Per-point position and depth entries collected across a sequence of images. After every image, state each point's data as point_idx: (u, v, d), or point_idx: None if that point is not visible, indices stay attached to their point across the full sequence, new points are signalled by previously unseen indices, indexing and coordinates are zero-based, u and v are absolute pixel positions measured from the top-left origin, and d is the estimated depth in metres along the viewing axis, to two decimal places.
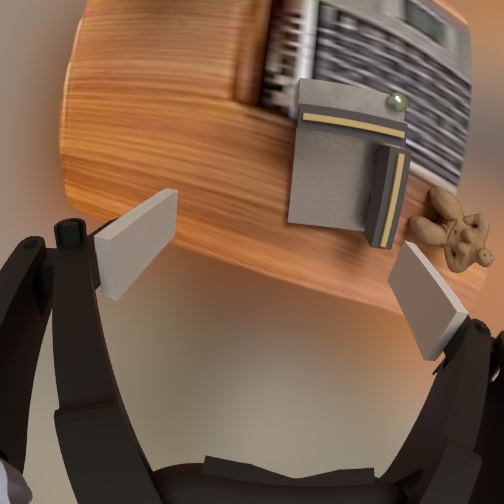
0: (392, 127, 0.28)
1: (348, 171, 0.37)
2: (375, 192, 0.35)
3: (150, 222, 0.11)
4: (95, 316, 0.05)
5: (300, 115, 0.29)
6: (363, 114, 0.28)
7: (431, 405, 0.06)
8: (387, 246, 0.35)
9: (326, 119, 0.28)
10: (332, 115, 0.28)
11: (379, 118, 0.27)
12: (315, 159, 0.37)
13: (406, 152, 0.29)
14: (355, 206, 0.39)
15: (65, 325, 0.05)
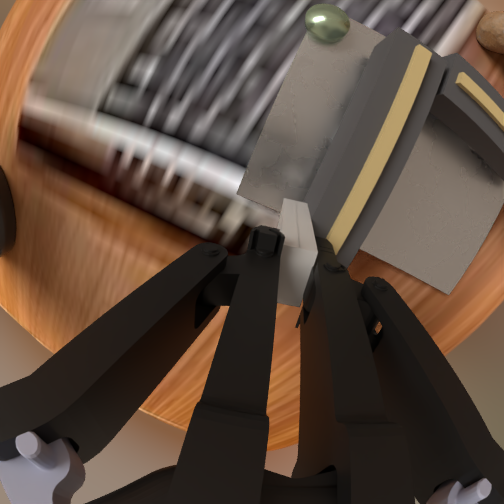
0: (403, 65, 0.09)
1: (433, 175, 0.17)
2: (486, 154, 0.12)
3: None
4: (272, 330, 0.06)
5: None
6: (361, 121, 0.11)
7: (309, 372, 0.07)
8: None
9: (348, 218, 0.13)
10: (343, 196, 0.13)
11: (378, 86, 0.10)
12: (394, 223, 0.19)
13: (456, 63, 0.08)
14: (480, 187, 0.16)
15: (238, 327, 0.06)
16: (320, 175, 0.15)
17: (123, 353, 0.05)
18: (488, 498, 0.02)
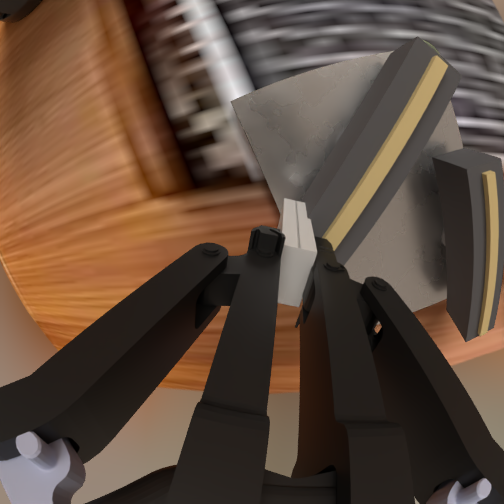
0: (418, 74, 0.09)
1: (396, 228, 0.19)
2: (454, 251, 0.16)
3: None
4: (273, 331, 0.06)
5: None
6: (371, 123, 0.11)
7: (308, 372, 0.07)
8: (488, 327, 0.15)
9: (348, 218, 0.13)
10: (345, 196, 0.13)
11: (391, 90, 0.10)
12: None
13: (494, 163, 0.10)
14: (423, 274, 0.20)
15: (239, 327, 0.06)
16: (322, 174, 0.15)
17: (124, 353, 0.05)
18: (488, 498, 0.02)
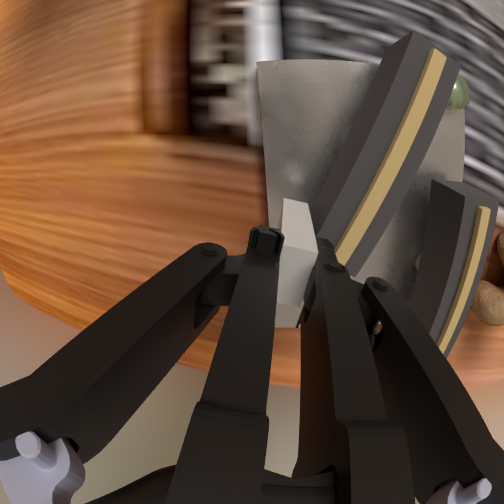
0: (418, 68, 0.09)
1: None
2: (426, 274, 0.17)
3: None
4: (272, 330, 0.06)
5: None
6: (378, 123, 0.11)
7: (309, 372, 0.07)
8: None
9: (363, 220, 0.12)
10: (358, 198, 0.13)
11: (395, 88, 0.10)
12: None
13: (491, 202, 0.11)
14: None
15: (238, 327, 0.06)
16: (333, 176, 0.15)
17: (123, 353, 0.05)
18: (488, 498, 0.02)
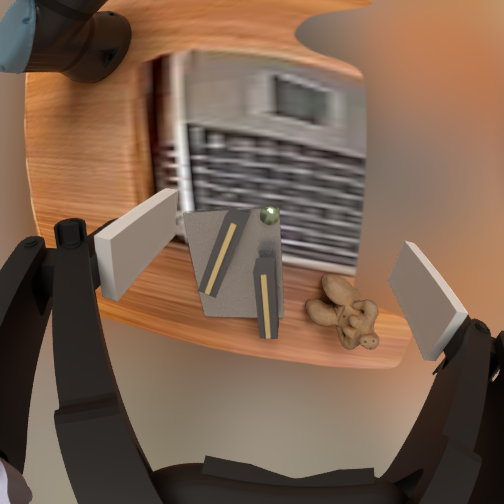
0: (226, 232, 0.39)
1: (238, 279, 0.49)
2: None
3: (150, 222, 0.11)
4: (95, 316, 0.05)
5: (206, 293, 0.44)
6: (212, 252, 0.41)
7: (431, 405, 0.06)
8: (273, 336, 0.47)
9: (211, 281, 0.42)
10: (210, 274, 0.42)
11: (217, 240, 0.40)
12: None
13: (269, 272, 0.41)
14: (251, 301, 0.51)
15: (65, 325, 0.05)
16: None
17: None
18: None
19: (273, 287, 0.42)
